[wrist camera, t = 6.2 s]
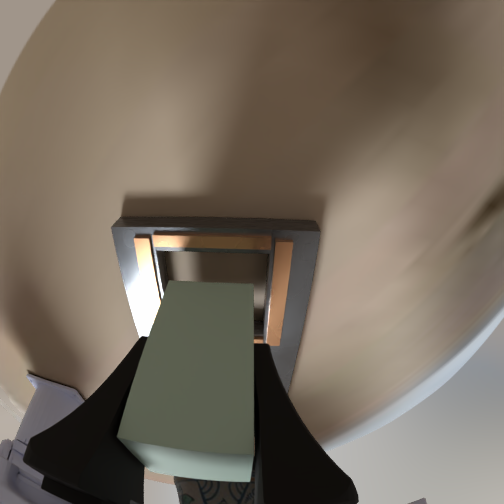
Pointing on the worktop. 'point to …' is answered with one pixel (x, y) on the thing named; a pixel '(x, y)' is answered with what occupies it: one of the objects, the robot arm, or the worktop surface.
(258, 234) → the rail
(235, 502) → the beer stein
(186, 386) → the peg
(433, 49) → the worktop surface
